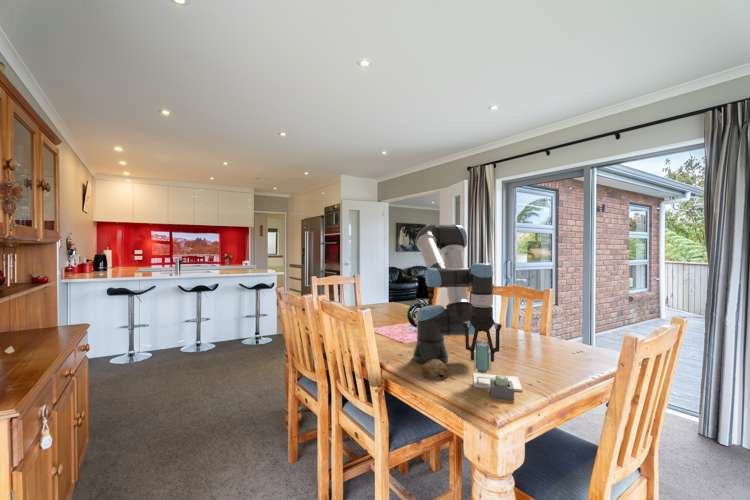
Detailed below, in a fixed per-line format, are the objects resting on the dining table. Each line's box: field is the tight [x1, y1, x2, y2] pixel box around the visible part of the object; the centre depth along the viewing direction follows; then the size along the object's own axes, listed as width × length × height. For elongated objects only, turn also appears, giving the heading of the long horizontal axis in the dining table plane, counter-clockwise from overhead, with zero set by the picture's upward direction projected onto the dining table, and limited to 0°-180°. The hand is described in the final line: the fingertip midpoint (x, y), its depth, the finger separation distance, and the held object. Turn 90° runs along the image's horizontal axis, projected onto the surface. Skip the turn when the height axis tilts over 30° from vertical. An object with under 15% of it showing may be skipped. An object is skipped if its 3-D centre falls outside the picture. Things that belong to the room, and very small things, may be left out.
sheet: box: [472, 372, 523, 393], centre depth 128 cm, size 16×12×1 cm
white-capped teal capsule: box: [475, 339, 490, 374], centre depth 128 cm, size 4×4×11 cm
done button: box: [495, 374, 508, 387], centre depth 118 cm, size 4×4×4 cm
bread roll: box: [421, 359, 449, 381], centre depth 136 cm, size 10×10×8 cm
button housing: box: [489, 379, 515, 401], centre depth 118 cm, size 7×7×4 cm
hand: (482, 369), depth 128 cm, fingers closed on white-capped teal capsule, 4 cm apart
